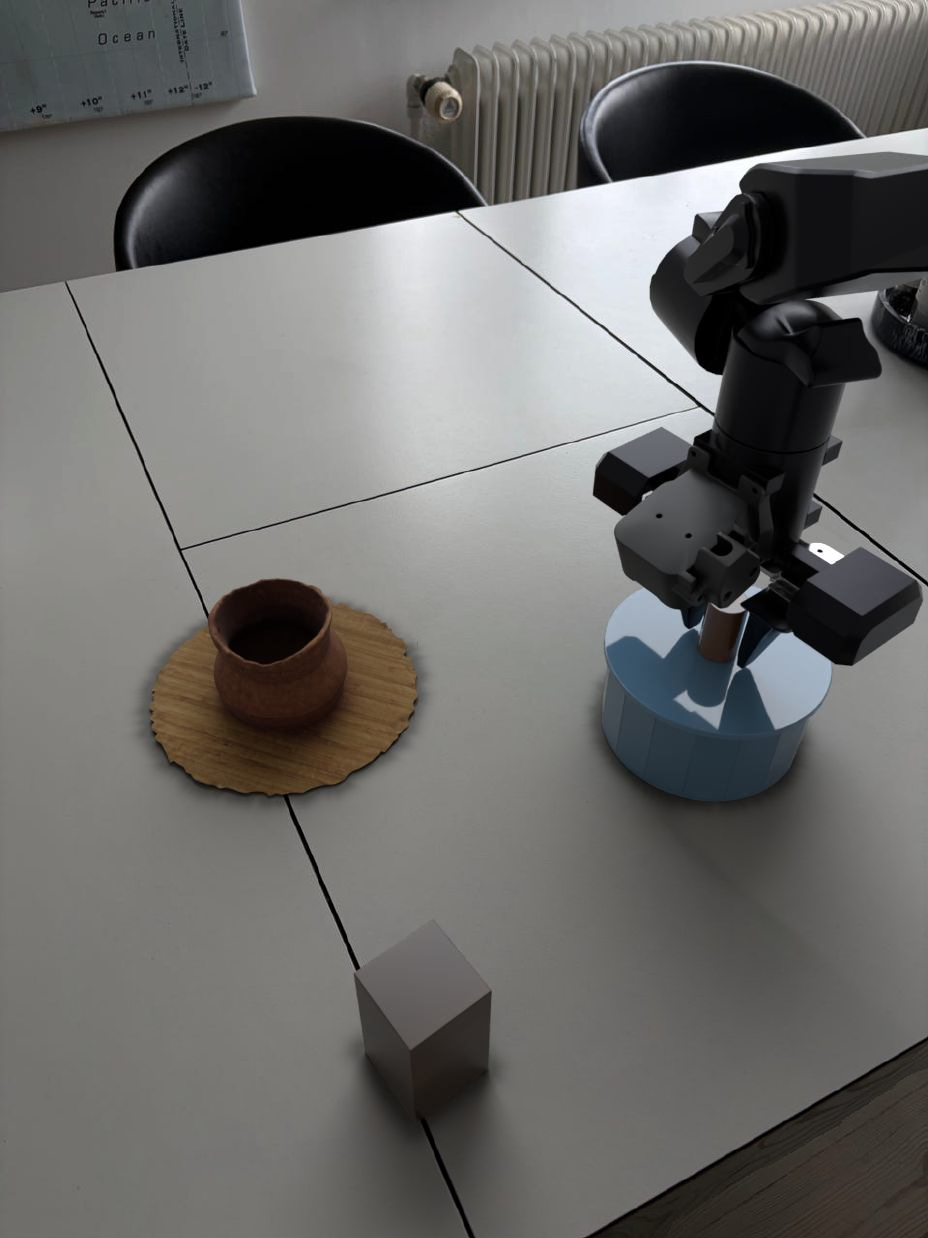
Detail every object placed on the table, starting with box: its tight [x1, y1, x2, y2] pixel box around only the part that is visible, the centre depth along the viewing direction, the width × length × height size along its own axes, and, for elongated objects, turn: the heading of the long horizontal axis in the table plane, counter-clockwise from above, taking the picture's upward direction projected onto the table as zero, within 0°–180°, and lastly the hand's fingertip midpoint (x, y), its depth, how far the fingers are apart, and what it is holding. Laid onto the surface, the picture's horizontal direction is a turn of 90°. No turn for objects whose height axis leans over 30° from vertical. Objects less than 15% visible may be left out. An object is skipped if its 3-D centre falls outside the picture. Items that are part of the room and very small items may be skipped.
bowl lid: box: [603, 585, 834, 740], centre depth 60 cm, size 14×14×5 cm
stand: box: [353, 919, 493, 1125], centre depth 47 cm, size 4×4×8 cm
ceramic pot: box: [148, 577, 419, 797], centre depth 65 cm, size 18×18×7 cm
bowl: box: [601, 665, 810, 803], centre depth 64 cm, size 13×13×6 cm
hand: (717, 644), depth 61 cm, fingers open, 4 cm apart
